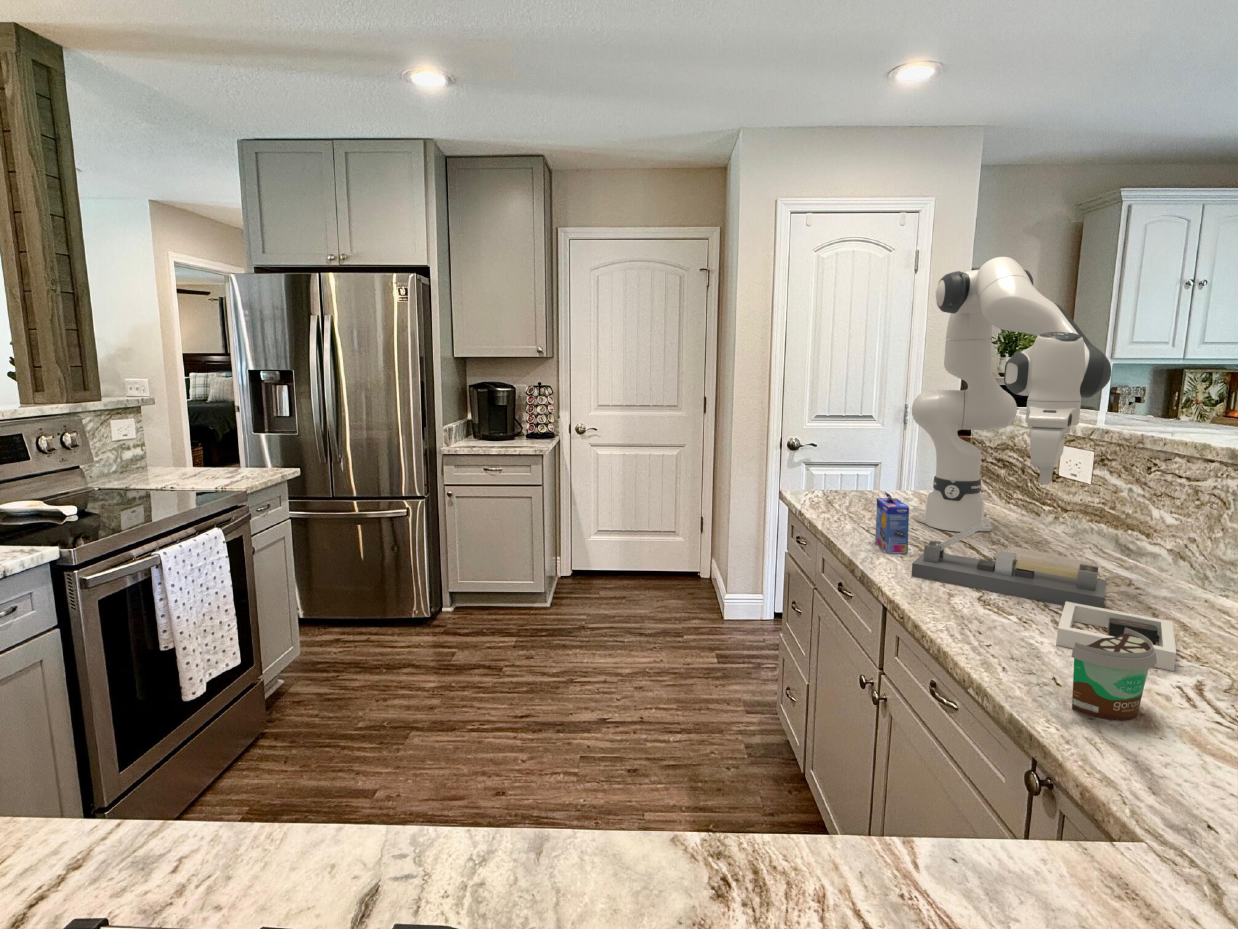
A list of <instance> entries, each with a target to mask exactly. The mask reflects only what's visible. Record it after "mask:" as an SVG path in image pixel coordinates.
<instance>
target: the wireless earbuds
mask: <svg viewBox="0 0 1238 929" xmlns="http://www.w3.org/2000/svg"><path fill="white" fill-rule="evenodd" d="M1125 628H1128V629H1131V630H1133V631H1136V632H1138V633H1140V634H1142V635H1144V636H1145V637H1147V638H1148V639H1149V640H1150V641H1151V642H1152V643H1153V645H1156V646H1157V640H1158V641H1159V636H1158V635H1157V632H1158V629H1157V627H1156V626H1154V625H1150V624H1144V623H1139V622H1133V621H1127V620H1122V619H1116V618H1109V624H1108V628H1107V635H1108V636H1113V637H1117V636H1120V635H1122V634H1124V630H1125Z"/></svg>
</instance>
